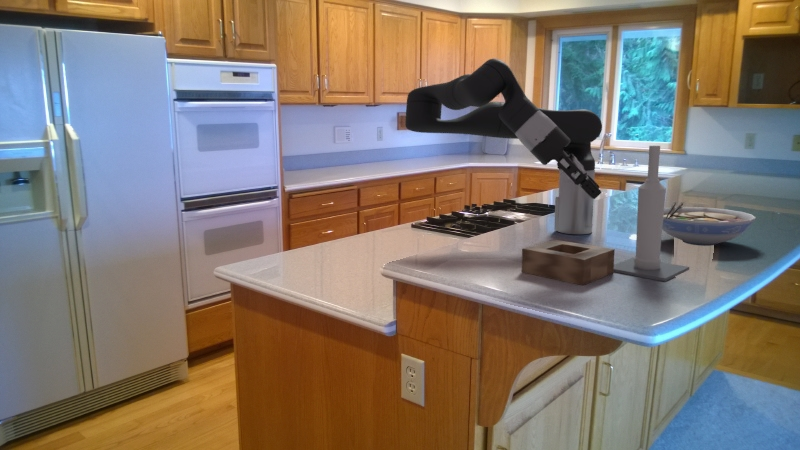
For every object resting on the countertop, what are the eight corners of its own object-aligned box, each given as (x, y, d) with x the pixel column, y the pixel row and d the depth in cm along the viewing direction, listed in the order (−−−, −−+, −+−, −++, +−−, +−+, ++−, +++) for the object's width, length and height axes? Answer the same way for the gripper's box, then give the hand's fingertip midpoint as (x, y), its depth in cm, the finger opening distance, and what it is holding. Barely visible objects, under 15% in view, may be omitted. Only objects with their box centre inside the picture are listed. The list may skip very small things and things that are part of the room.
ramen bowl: (751, 258, 129) (755, 222, 127) (641, 248, 140) (643, 214, 139) (754, 238, 149) (757, 206, 148) (658, 230, 161) (660, 201, 160)
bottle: (663, 270, 118) (672, 146, 113) (636, 269, 119) (643, 146, 114) (657, 264, 123) (665, 145, 118) (631, 263, 124) (638, 145, 119)
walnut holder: (521, 272, 121) (522, 248, 120) (553, 261, 129) (554, 239, 128) (583, 285, 111) (584, 259, 110) (613, 273, 119) (614, 249, 118)
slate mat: (606, 270, 121) (606, 267, 121) (632, 260, 129) (633, 257, 129) (664, 281, 112) (665, 278, 112) (689, 269, 120) (689, 266, 120)
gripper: (531, 148, 130) (582, 200, 129) (526, 152, 116) (583, 210, 115) (556, 124, 127) (609, 177, 126) (554, 125, 114) (613, 184, 113)
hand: (597, 193), depth 121 cm, fingers open, 8 cm apart
